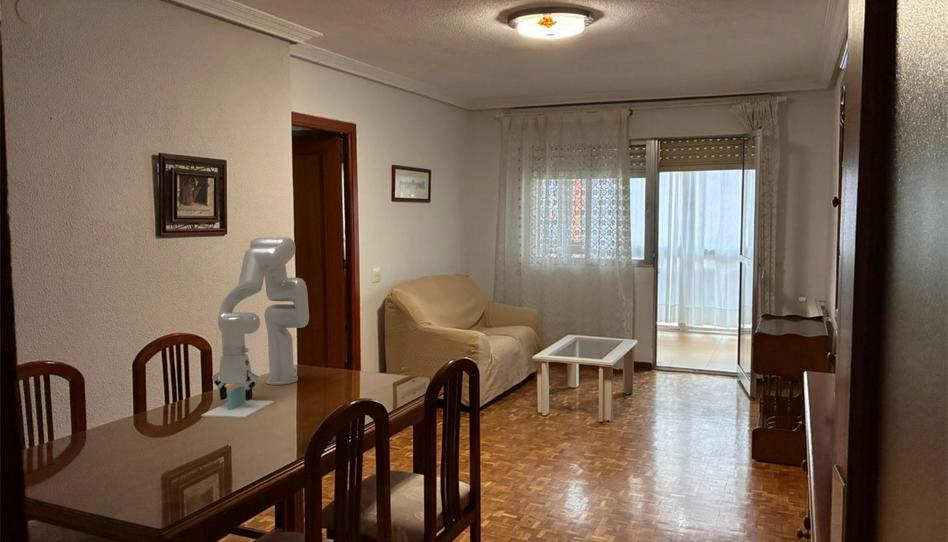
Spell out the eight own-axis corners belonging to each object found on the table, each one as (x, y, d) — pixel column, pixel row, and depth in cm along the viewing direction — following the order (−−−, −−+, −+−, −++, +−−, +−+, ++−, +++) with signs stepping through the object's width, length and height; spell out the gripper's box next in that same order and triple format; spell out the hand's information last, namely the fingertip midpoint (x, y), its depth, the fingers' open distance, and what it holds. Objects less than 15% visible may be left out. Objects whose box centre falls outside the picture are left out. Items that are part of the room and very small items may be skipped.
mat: (233, 401, 256) (233, 399, 256) (273, 402, 253) (273, 401, 253) (201, 416, 237) (201, 414, 237) (244, 418, 234) (244, 416, 234)
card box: (240, 402, 252) (240, 386, 251) (245, 402, 251) (244, 386, 251) (227, 409, 243) (226, 392, 242) (231, 409, 243) (231, 392, 242)
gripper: (262, 349, 248) (264, 397, 249) (217, 348, 251) (219, 396, 253) (251, 353, 241) (253, 403, 242) (205, 352, 244) (207, 401, 245)
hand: (236, 399), depth 247 cm, fingers open, 9 cm apart
